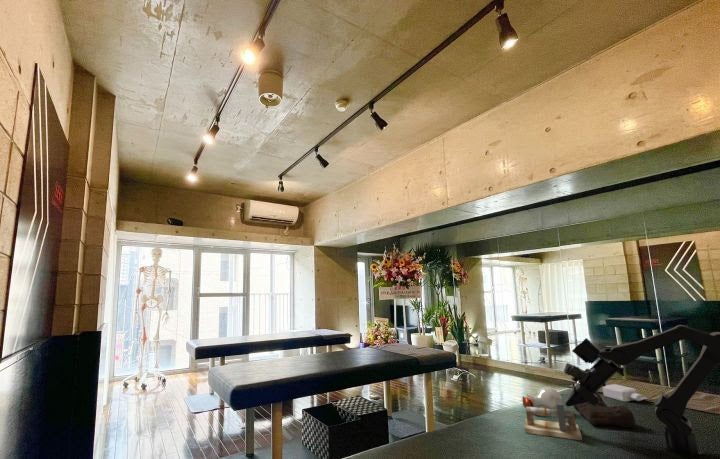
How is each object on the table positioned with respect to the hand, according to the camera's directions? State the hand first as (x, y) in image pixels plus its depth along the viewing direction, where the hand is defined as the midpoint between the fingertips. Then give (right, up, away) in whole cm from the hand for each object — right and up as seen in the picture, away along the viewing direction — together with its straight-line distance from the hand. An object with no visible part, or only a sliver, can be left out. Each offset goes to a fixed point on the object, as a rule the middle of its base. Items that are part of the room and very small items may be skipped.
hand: (566, 405), depth 120 cm
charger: (+46, -14, +31) cm, 58 cm away
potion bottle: (+3, -13, +20) cm, 24 cm away
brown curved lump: (+19, -11, +8) cm, 23 cm away
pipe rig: (-5, -9, +1) cm, 11 cm away
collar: (-2, -7, 0) cm, 7 cm away
